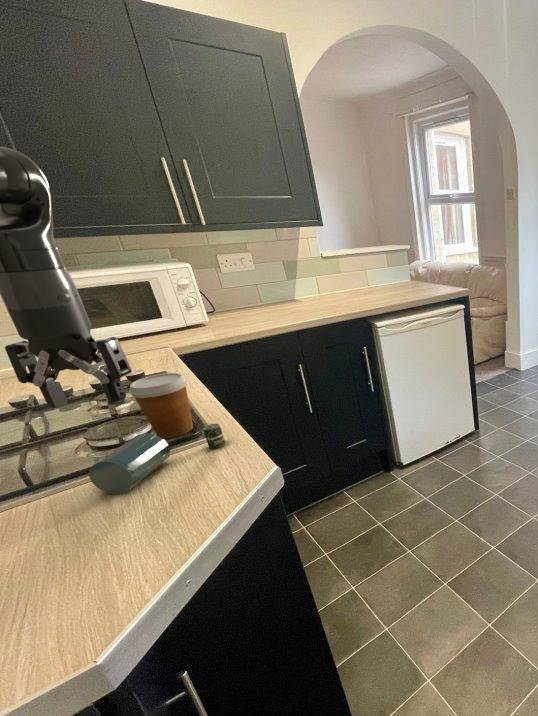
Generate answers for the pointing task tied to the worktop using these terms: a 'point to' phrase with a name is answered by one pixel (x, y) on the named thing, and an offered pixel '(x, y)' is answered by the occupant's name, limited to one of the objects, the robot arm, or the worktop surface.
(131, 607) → the worktop surface
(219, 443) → the beer can
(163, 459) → the cup
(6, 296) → the robot arm
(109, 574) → the worktop surface
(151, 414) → the disposable coffee cup
